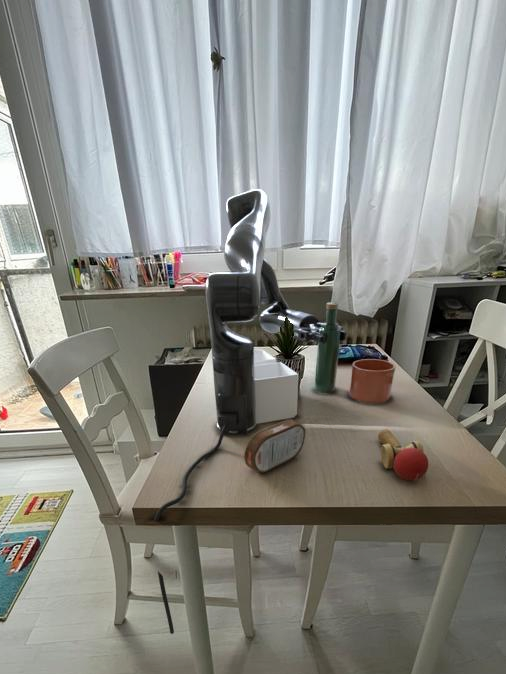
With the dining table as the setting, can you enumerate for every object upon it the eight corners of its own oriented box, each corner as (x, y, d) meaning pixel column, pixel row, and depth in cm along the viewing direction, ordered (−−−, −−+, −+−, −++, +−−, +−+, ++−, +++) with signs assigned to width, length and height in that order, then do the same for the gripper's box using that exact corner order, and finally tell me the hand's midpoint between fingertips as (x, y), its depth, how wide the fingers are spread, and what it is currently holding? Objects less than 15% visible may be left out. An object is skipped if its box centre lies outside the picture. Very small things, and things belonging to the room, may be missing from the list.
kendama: (362, 448, 86) (390, 482, 70) (370, 420, 84) (401, 449, 68) (395, 452, 87) (431, 488, 71) (404, 425, 85) (443, 455, 68)
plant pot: (392, 405, 103) (399, 371, 99) (350, 403, 105) (354, 370, 100) (386, 390, 113) (391, 359, 108) (347, 389, 114) (350, 358, 109)
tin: (295, 449, 84) (297, 412, 80) (306, 454, 82) (309, 417, 78) (243, 474, 76) (242, 435, 72) (254, 480, 74) (253, 441, 70)
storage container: (296, 417, 99) (298, 374, 93) (255, 423, 96) (255, 380, 90) (262, 386, 119) (262, 349, 113) (227, 391, 116) (225, 353, 110)
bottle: (335, 393, 111) (344, 305, 98) (314, 392, 111) (321, 305, 99) (334, 386, 116) (343, 301, 103) (314, 385, 116) (320, 301, 104)
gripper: (280, 315, 112) (313, 326, 99) (322, 310, 117) (358, 320, 104) (280, 342, 116) (311, 356, 103) (320, 336, 121) (355, 348, 108)
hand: (334, 338), depth 103 cm, fingers closed on bottle, 6 cm apart
